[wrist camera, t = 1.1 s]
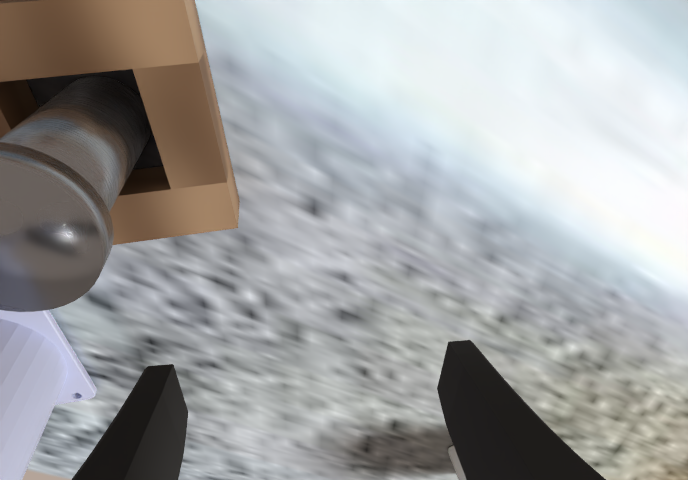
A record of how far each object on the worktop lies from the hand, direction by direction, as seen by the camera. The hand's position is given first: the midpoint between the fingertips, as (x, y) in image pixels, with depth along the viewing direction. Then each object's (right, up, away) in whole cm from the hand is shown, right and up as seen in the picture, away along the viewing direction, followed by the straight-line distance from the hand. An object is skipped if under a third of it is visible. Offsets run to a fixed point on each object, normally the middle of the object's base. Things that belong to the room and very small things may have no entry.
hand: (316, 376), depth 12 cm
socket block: (-9, +9, +6) cm, 14 cm away
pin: (-9, +9, +6) cm, 14 cm away
